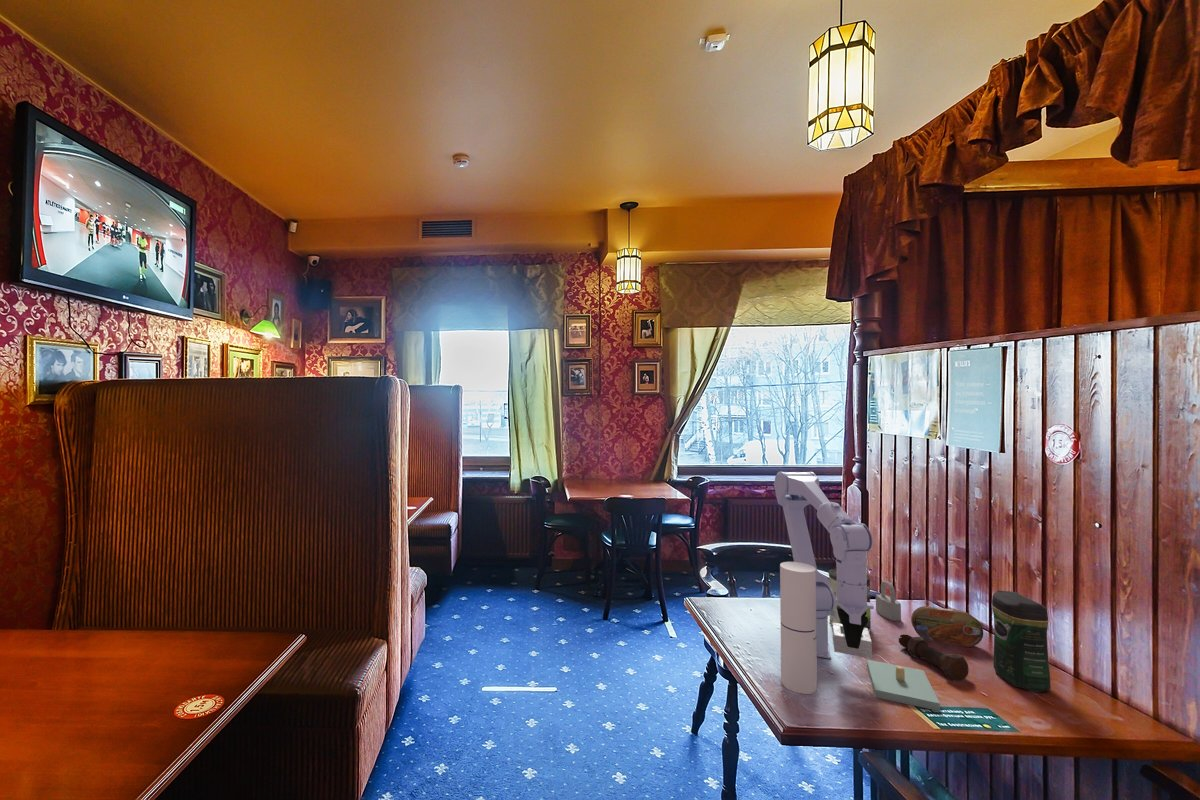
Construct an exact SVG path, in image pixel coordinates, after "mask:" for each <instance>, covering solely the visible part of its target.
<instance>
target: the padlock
mask: <svg viewBox="0 0 1200 800" xmlns="http://www.w3.org/2000/svg"><path fill="white" fill-rule="evenodd" d="M886 586H887V587H888V588H889V591H890V592H889V593H890V595H887V594H886ZM875 611H876V612H877V613H878V614H879V615H880V616H882V617H884V618H885V617H886V619H888V620H889V621H893V622H895V621H899V622H900V621H902V604H901V602H899V600H897V599H896V591H895V587H894V586H893V584H892V583H891V582H890V581H888V580H883V581H882V582H881V584H880V594H877V593H876V594H875Z"/></svg>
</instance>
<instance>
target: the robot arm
mask: <svg viewBox="0 0 1200 800" xmlns="http://www.w3.org/2000/svg"><path fill="white" fill-rule="evenodd" d="M773 487H774V492H775V497H776V500H777V504H778V505H779V506H781V507H782V510H783V513H784V514H783V515H784V518H785V519H784V520H785V524H786V529H787V534H788V538H789V539H788V540H789V543H790V549H791V552H792V558H793V562H800V563H805V564H809V565H811V566H813V567H815V569H816V643H817V657H818V658H824V659H828V660H829V659H831V657H832V656H831V648H830V643H829V626H828V625H829V622H828V618H829V617H830V615H831V612H830V611H833V610H834V608H835V606H836V604H837V605H838V606H837V610H838V616H839V618H840V620H841V622H842V625H843V628H844V633H845V638H846V643H847V646H848V647H851V648H856V649H858V648H859V645H860V641H861V636H862V632H863V630H864V628H865V626H866V624H867V623H868V617H865V615H866V610H867V609H870V610H874V609H875V608H874V603H873V602H870V603H869V602H867V575H868V574H867V573H868V572H867V552H869V551H871V550H872V547H873V542H874V541H873V535H872V532H871V530H870V529H869V528H868V526H867V524H865V523H859V522H858V521H854V520H853V519H852V518H851V517H850V515H849V514H848V513H847V512H846V511H845V509H843V508H842V506H841V505H840V503H837V502H835V501H834V502H833V501H830V500H829V499H828V497H827V496H826V494H825V493H824V491H822V489H821V488H820V479H819V477H818V476H817V475H816V473H815V472H813V471H802V472H801V471H791V472H790V471H789V472H788V471H778V472H777V474H776V475H775V478H774V482H773ZM809 505H811V506H812V507H813V508H814V509H815V510H816V511H817V512H816V517H817V518H816V519H818V520H819V522H820V523H821V525H822V526H823V527H824V528H825V529H826V531H827V532H828V533H829V539H830V543H831V545H832V550H833V551H832V553H833V556H834V558H836V559H835V562H836V564H835V565H836V568H835V569H836V571H837V598H835V594H834V592H833V590H832V588H831V586H830V583H829V578H828V577H827V576H825V574H824V575H823V574H822V573H821V572H819V570H818V567H817V564H816V559H815V554H814V551H813V545H812V542H811V536H810V532H809V529H808V525H807V520H806V515H805V507H807V506H809ZM828 616H829V617H828Z"/></svg>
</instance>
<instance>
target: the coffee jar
mask: <svg viewBox="0 0 1200 800" xmlns="http://www.w3.org/2000/svg"><path fill="white" fill-rule="evenodd" d="M991 608H992V614H993V625H994V626H993V633H994V634H993V662H992V663H993V670H994V671H995V672H996V673H997V674H998V676H1000V677H1001V678H1002V679H1003V680H1005V681H1007V683H1009V684H1011V685H1012V686H1014V687H1018V688H1021V689H1024V690H1028V691H1031V692H1034V693H1035V692H1037V693H1039V692H1040V693H1042V692H1047V691H1050V690H1051V673H1050V672H1051V671H1050V664H1049V652H1048V651H1049V650H1048V634H1047V632H1048V626H1049V615H1048V609H1047V607H1046V606H1045V605H1042V604H1041V603H1039V602H1036V601H1035V600H1033V599H1031V598H1029V597H1026V596H1025V595H1023V594H1021V593H1019V592H1018V591H1010V590H1009V591H1008V590H997V591H995V592H994V593H993V594H992V598H991Z"/></svg>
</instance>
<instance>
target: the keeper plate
mask: <svg viewBox="0 0 1200 800" xmlns="http://www.w3.org/2000/svg"><path fill="white" fill-rule="evenodd" d="M866 668H867V672H868V675H869V679H870V683H871V686H872V690H873V693H874V694H873V695H874V698H879V699H882V700H888V701H891V702H896V703H901V704H904V705H905V704H906V705H910V706H916V707H919V708H925V709H928V710H932V711H938V712H941V704H940V703H941V702H940V701H939V699H938V697H937V695H936V692H935V691H934V689H933V687H932V684H931V683H930V681H929V679H928V677H927V674H926V673H925V671H924V669H923V670H922V669H917V668H913V667H908V666H902V665H896V664H892V663H888V662H882V661H876V660H873V659H872V660H871V659H866Z"/></svg>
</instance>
